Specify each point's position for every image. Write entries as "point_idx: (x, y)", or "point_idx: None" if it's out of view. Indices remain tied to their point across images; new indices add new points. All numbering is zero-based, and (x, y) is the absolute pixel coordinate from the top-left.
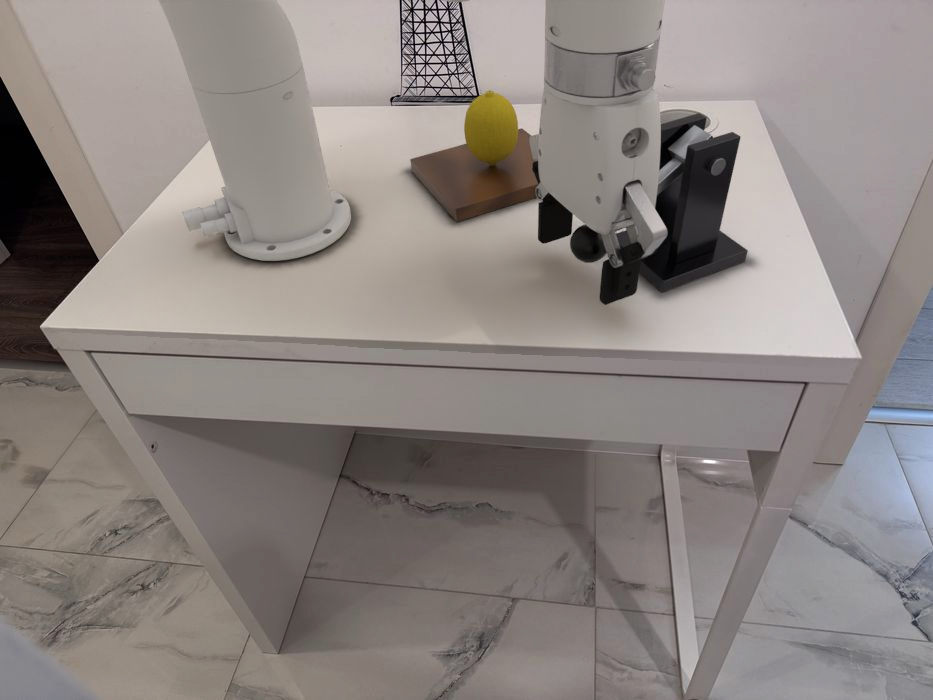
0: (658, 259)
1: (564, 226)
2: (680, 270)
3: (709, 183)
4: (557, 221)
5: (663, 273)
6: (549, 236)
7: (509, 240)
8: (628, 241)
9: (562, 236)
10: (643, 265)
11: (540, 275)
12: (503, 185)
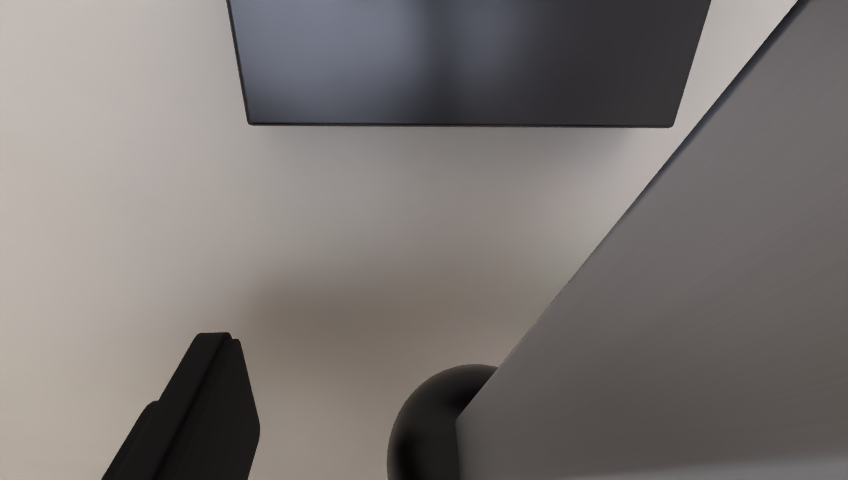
0: (549, 41)
1: (228, 409)
2: (683, 2)
3: None
4: (222, 473)
5: (635, 91)
6: (249, 436)
7: (99, 384)
8: (337, 74)
9: (243, 372)
10: (527, 125)
11: (329, 381)
12: None
